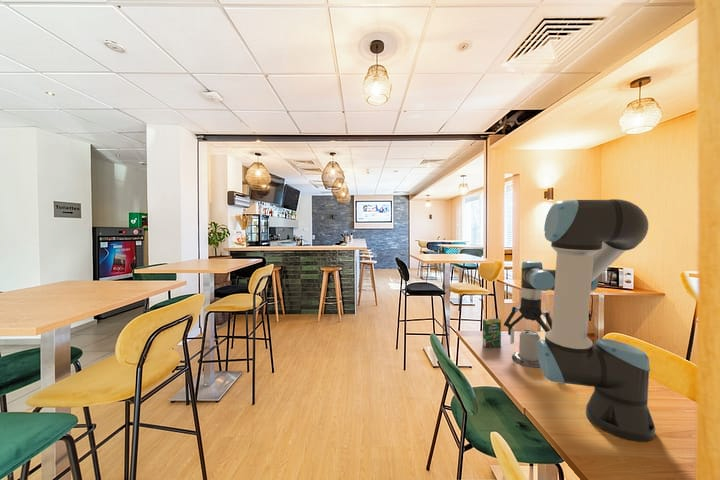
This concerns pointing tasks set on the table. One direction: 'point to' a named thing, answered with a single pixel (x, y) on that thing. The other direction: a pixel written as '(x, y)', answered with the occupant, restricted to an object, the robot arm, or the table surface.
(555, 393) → the table surface
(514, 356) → the flange socket
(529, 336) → the can
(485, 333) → the coffee box
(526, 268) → the robot arm
